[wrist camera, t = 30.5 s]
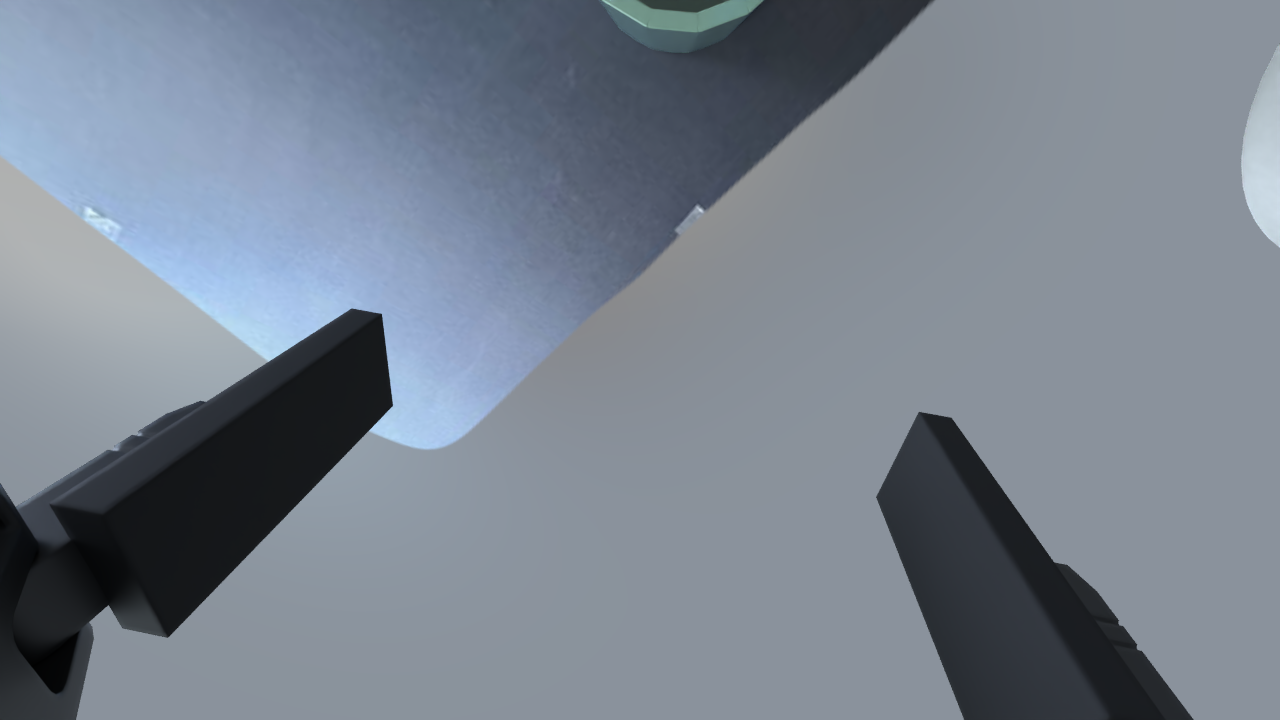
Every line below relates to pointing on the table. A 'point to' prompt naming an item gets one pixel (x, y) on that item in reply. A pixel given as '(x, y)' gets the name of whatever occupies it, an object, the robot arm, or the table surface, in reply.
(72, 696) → the robot arm
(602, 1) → the cup
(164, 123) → the table surface
